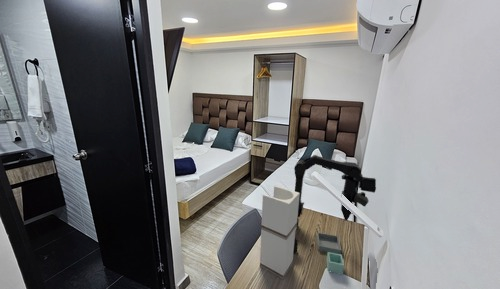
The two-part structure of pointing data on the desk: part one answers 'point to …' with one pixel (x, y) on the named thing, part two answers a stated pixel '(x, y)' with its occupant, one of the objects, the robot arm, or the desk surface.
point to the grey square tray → (328, 243)
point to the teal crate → (335, 263)
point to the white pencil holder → (278, 230)
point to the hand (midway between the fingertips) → (345, 215)
